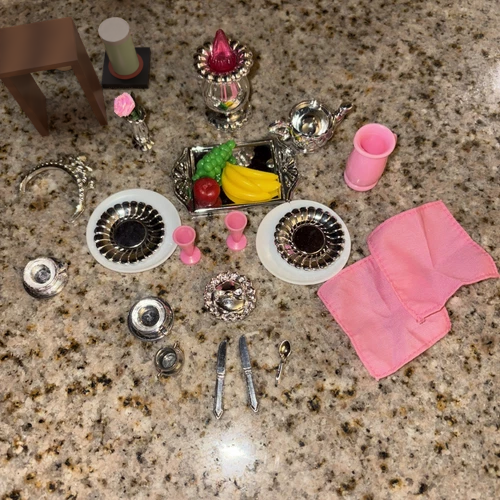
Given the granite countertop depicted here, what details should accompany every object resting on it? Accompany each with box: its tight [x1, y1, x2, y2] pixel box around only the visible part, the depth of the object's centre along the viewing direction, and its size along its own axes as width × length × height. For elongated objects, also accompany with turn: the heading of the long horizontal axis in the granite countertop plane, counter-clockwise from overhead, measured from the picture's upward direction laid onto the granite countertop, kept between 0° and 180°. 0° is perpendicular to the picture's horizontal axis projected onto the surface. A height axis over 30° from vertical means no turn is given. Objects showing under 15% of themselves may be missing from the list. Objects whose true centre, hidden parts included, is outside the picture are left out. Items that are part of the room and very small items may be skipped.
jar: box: [97, 16, 139, 75], centre depth 103 cm, size 6×6×10 cm
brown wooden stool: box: [0, 16, 109, 138], centre depth 97 cm, size 14×10×20 cm
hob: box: [100, 46, 152, 89], centre depth 109 cm, size 10×10×2 cm
